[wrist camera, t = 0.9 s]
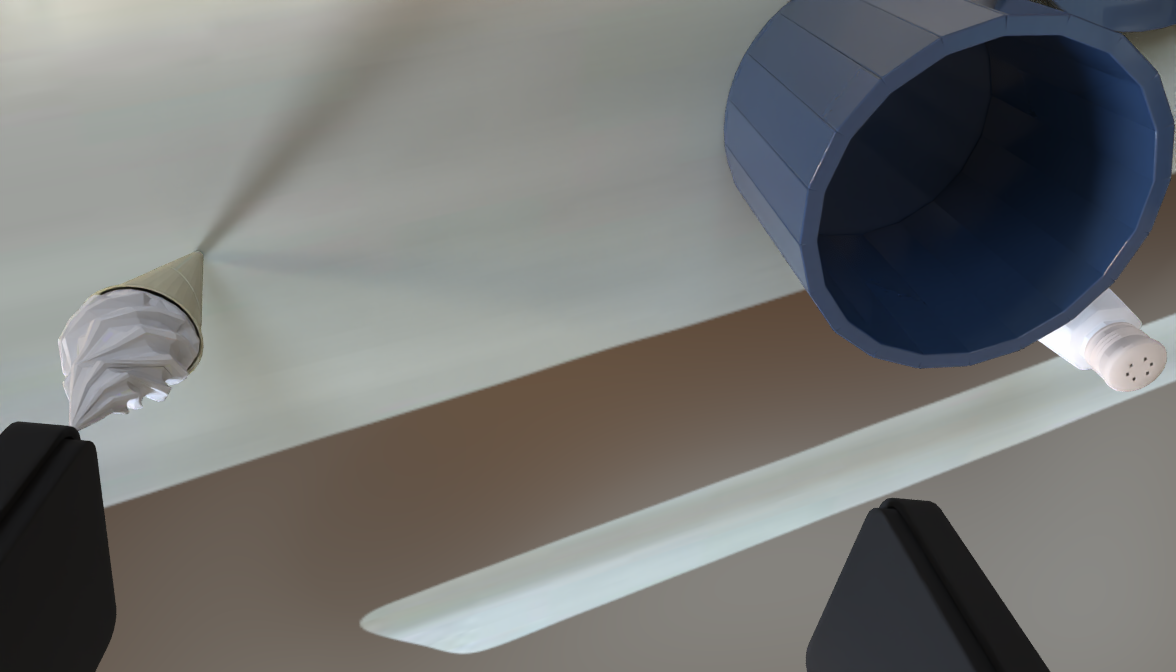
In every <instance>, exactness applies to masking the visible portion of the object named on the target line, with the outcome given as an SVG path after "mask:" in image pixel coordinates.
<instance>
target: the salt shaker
mask: <svg viewBox="0 0 1176 672" xmlns="http://www.w3.org/2000/svg"><path fill="white" fill-rule="evenodd" d="M1141 324H1142V322H1141V321H1140V320H1139V318H1138V317H1137V316H1136V315H1135V314H1134V313H1133V312H1132V311H1131V310H1130V309H1129V308H1128V307H1127V306H1126V305H1125V304H1124V303H1123V302H1122V301H1121V300H1120V299H1119V298H1118V296H1117V295H1115V294H1114V293H1113V292H1112V291H1111V290H1110V289H1109V288H1108V289H1107V290H1105V291H1104V292H1103V293H1102V294H1101V295H1100V296H1099V297H1098V298H1097V299H1095V300H1094V301H1093V302H1092V303H1091V304H1090V305H1089V306H1088V307H1087V308H1085V309H1084V310H1083V311H1082V312H1081V313H1080V314H1079V315H1078V316H1077V317H1075V318H1074V319H1073V320H1070V322H1069V323H1067V324H1065V325H1064V326H1062V327H1060V328H1059V329H1057V330H1055V331H1053V332H1052V333H1050V334H1048V335H1046V336H1045V337H1043V338H1041V339H1039V341H1040V342H1041V343H1043V344H1044V345H1046V346H1047V347H1048V348H1050V349H1051V350H1053V351H1054V352H1055V353H1057V354H1058V355H1060V356H1061V357H1062V358H1064V359H1065V360H1067V361H1068V362H1069V363H1071V364H1072V365H1074V366H1075V367H1077V368H1079V369H1080V370H1089V369H1093V370H1094V371H1095V372H1096V373H1097V374H1099V375H1100V376H1101V377H1102V378H1103V379H1104V381H1105V382H1106V383H1107V384H1108V385H1109V386H1110V387H1111V388H1112V389H1114V390H1116V391H1123V392H1128V391H1135V390H1138V389H1141V388H1143V387H1145V386H1147V385H1149V384H1150V383H1151V382H1153V381H1154V380H1155V379H1156V378H1157V377H1158V376H1159V375H1160V374H1161V372H1162V371H1163V369H1164V368H1165V365H1166V362H1167V352H1166V349H1165V347H1164V346H1163V345H1162V344H1161V343H1160V342H1158V341H1156V340H1154V339H1152V338H1150V337H1149V336H1148V335H1147V334H1145V333H1144V332H1143V331H1142V330H1140V327H1141Z"/></svg>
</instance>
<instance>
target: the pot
mask: <svg viewBox="0 0 1176 672" xmlns="http://www.w3.org/2000/svg"><path fill="white" fill-rule="evenodd" d="M1174 128H1175V125H1174V119H1173V116H1172V113H1171V109H1170V106H1169V103H1168V100H1167V97H1166V94H1165V91H1164V88H1163V84H1162V81H1161V78H1160V75H1159V74H1158V71H1157V70H1156V69H1155V68H1154V67H1153V66H1152V65H1151V64H1150V63H1149V61H1148V60H1147V59H1146V58H1145V57H1144V56H1143V55H1142V54H1141V53H1140V52H1139V51H1138V50H1137V49H1136V48H1135V47H1134V45H1133V44H1132V43H1131V42H1130V41H1129V40H1128V39H1127V38H1126V37H1125V36H1124V35H1122V33H1119V32H1117V31H1114V30H1111V29H1109V28H1106V27H1104V26H1101V25H1099V24H1096V23H1093V22H1091V21H1088V20H1086V19H1083V18H1081V17H1078V16H1076V15H1073V14H1070V13H1067V12H1064V11H1061V10H1057V9H1054V8H1051V7H1048V6H1045V5H1042V4H1039V3H1035V2H1032V1H1029V0H791V1H790V2H788V3H787V4H786V5H785V6H783V7H782V8H781V9H780V10H779V11H778V12H777V13H776V14H775V15H774V16H773V17H772V18H771V19H770V20H769V21H768V22H767V24H766V25H765V26H764V27H763V29H762V30H761V31H760V32H759V34H758V35H757V36H756V37H755V39H754V41H753V42H752V44H751V45H750V47H749V49H748V50H747V52H746V53H745V55H744V57H743V59H742V61H741V63H740V65H739V67H738V70H737V72H736V74H735V77H734V80H733V83H732V86H731V89H730V92H729V96H728V101H727V105H726V110H725V122H724V140H725V150H726V155H727V161H728V165H729V168H730V171H731V174H732V176H733V180H734V183H735V185H736V187H737V188H738V190H739V191H740V193H741V194H742V196H743V197H744V199H745V200H746V202H747V203H748V205H749V206H750V208H751V209H752V211H753V212H754V214H755V215H756V217H757V218H758V220H759V221H760V223H761V224H762V226H763V227H764V229H765V230H766V232H767V233H768V235H769V236H770V238H771V239H772V241H773V242H774V244H775V245H776V247H777V248H778V250H779V251H780V252H781V254H782V255H783V257H784V258H785V260H786V261H787V263H788V264H789V266H790V267H791V269H792V270H793V272H794V273H795V275H796V276H797V278H798V279H799V281H800V282H801V284H802V285H803V287H804V288H805V290H806V291H807V292H808V294H809V295H810V297H811V298H812V300H813V301H814V303H815V304H816V306H817V307H818V309H819V310H820V312H821V313H822V315H823V316H824V318H825V319H826V321H827V322H828V323H829V325H830V327H831V328H832V329H833V331H835V333H837V334H838V335H840V336H841V337H843V338H844V339H846V340H847V341H849V342H850V343H852V344H853V345H855V346H856V347H858V348H859V349H861V350H862V351H864V352H865V353H867V354H868V355H869V356H872V357H874V358H878V359H882V360H886V361H890V362H894V363H898V364H902V365H906V366H910V367H914V368H920V369H921V368H941V367H960V366H968V365H969V366H971V365H974V364H978V363H981V362H984V361H987V360H991V359H994V358H997V357H1000V356H1003V355H1007V354H1010V353H1013V352H1016V351H1019V350H1021V349H1024V348H1025V347H1027V346H1029V345H1031V344H1032V343H1034V342H1036V341H1038V340H1039V339H1041V338H1043V337H1045V336H1046V335H1048V334H1050V333H1052V332H1053V331H1055V330H1057V329H1059V328H1060V327H1062V326H1064V325H1065V324H1067V323H1069V322H1070V320H1073V319H1074V318H1075V317H1077V316H1078V315H1079V314H1080V313H1081V312H1082V311H1083V310H1084V309H1085V308H1087V307H1088V306H1089V305H1090V304H1091V303H1092V302H1093V301H1094V300H1095V299H1097V298H1098V297H1099V296H1100V295H1101V294H1102V293H1103V292H1104V291H1105V290H1107V289H1108V288H1109V287H1110V286H1111V285H1112V284H1113V283H1114V282H1115V281H1114V280H1117V279H1118V277H1119V276H1120V274H1121V273H1122V272H1123V270H1124V269H1125V267H1126V266H1127V264H1128V263H1129V262H1130V260H1131V259H1132V257H1133V256H1134V255H1135V253H1136V252H1137V250H1138V249H1139V248H1140V246H1141V244H1142V243H1143V242H1144V240H1145V239H1146V238H1147V236H1148V235H1149V232H1150V231H1151V230H1152V227H1153V225H1154V222H1155V219H1156V217H1157V214H1158V212H1159V209H1160V206H1161V204H1162V201H1163V199H1164V196H1165V194H1166V191H1167V188H1168V186H1169V183H1170V181H1171V178H1170V177H1171V173H1172V158H1173V143H1174Z"/></svg>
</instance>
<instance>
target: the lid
mask: <svg viewBox="0 0 1176 672" xmlns="http://www.w3.org/2000/svg"><path fill="white" fill-rule="evenodd" d="M1048 1H1049V2H1050V3H1051V4H1052V5H1053V6H1054V7H1055V8H1057V9H1058V10H1061V11H1064V12H1067V13H1070V14H1073V15H1076V16H1078V17H1081V18H1083V19H1086V20H1088V21H1091V22H1093V23H1096V24H1099V25H1101V26H1104V27H1106V28H1109V29H1111V30H1114V31H1117V32H1144V31H1150V30H1156V29H1161V28H1165V27H1168V26H1171V25H1175V24H1176V0H1048Z"/></svg>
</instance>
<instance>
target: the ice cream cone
mask: <svg viewBox="0 0 1176 672" xmlns="http://www.w3.org/2000/svg"><path fill="white" fill-rule="evenodd" d="M202 285H203V254H202V253H201V252H199V251H195V252H193V253H191V254H188V255H186V256H184V257H181V258H179V259H177V260H175V261H172V262H170V263H168V264H165V265H163V266H161V267H158V268H156V269H154V270H152V271H150V272H148V273H146V274H143V275H141V276H139V277H136V278H134V279H132V280H129V281H127V282H125V283H123V284H120V285H115V286H111V287H107V288H104V289H102V290H99V291H97V292H96V293H94V294H93V295H91V296H90V297H89V298H88V299H87V300H86V301H85V302H84V303H83V305H82V306H81V307H80V308H79V310H78V311H77V312H76V313H75V314H74V315H73V316H72V317H71V318H70V319H69V320H68V322H67V324H66V326H65V328H64V330H63V332H62V334H61V336H60V338H59V340H58V345H59V352H60V358H61V365H62V371H63V374H64V375H65V376H66V378H65V380H64V382H63V387H64V390H65V392H66V395H67V398H68V400H69V403H70V408H69V426H72V427H74V428H76V429H77V431H79V430H81V429H83V428H85V427H88V426H90V425H92V424H94V423H96V422H98V421H100V420H102V419H103V418H105V416H107V415H109V414H111V413H116V414H128V413H129V410H128V409H127V407H128V408H131V409H140V408H143V406H142V402H141V401H142V399H143V397H144V396H146V397H148V398H150V399H153V400H155V401H164V400H165V399H166V397H167V396H168V394H169V392H170V390H171V389H172V388H171V387H169V386H168V385H166V384H169V385H176V384H178V383H179V382H181V381H183V380H185V379H186V378H187V376H188V375H189V374H190V373H191V372H192V371H193V370H194V369H195V368H196V367H197V365H198V364H199V362H200V359H201V357H202V353H203V337H202V333H201V325H202Z"/></svg>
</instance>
